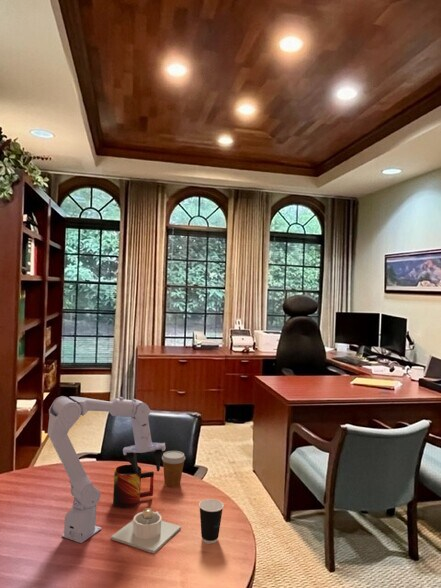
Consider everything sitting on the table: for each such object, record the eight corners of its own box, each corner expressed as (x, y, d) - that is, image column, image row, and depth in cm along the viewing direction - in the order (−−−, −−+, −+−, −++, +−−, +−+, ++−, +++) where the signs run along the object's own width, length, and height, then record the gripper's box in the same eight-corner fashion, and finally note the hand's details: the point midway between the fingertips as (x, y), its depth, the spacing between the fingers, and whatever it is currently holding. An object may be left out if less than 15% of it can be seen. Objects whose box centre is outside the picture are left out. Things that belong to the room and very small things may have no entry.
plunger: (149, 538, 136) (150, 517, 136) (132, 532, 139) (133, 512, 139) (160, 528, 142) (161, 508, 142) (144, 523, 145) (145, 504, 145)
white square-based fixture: (154, 553, 130) (155, 536, 130) (110, 539, 136) (111, 522, 136) (181, 528, 144) (181, 513, 144) (140, 516, 151) (141, 502, 151)
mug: (153, 498, 165) (155, 466, 165) (124, 511, 154) (126, 477, 154) (136, 490, 171) (137, 459, 171) (107, 502, 160) (109, 469, 160)
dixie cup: (223, 546, 135) (224, 510, 135) (197, 546, 135) (199, 510, 135) (221, 532, 143) (222, 499, 143) (196, 532, 142) (198, 498, 143)
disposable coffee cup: (157, 481, 180) (159, 451, 180) (179, 477, 184) (180, 449, 184) (164, 490, 172) (166, 460, 172) (187, 487, 176) (188, 457, 176)
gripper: (164, 427, 156) (169, 462, 157) (124, 431, 156) (129, 467, 158) (161, 436, 149) (166, 473, 150) (119, 440, 149) (125, 477, 151)
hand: (147, 471), depth 154 cm, fingers open, 7 cm apart
